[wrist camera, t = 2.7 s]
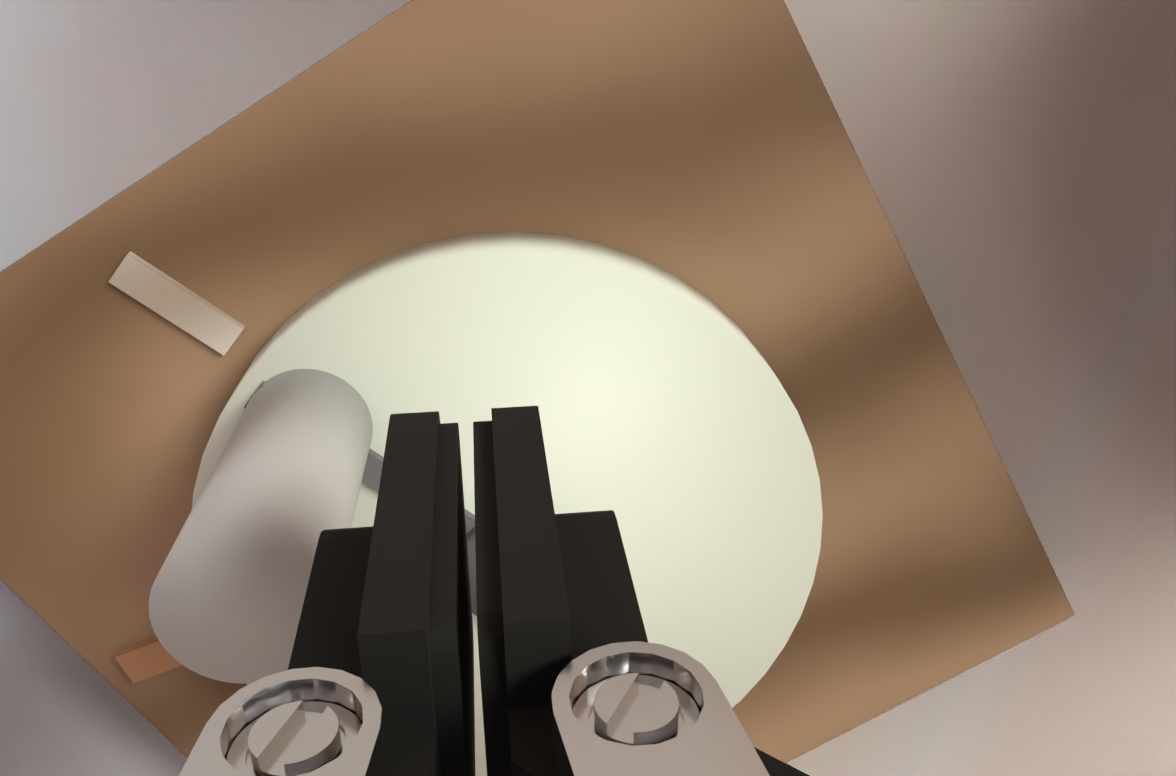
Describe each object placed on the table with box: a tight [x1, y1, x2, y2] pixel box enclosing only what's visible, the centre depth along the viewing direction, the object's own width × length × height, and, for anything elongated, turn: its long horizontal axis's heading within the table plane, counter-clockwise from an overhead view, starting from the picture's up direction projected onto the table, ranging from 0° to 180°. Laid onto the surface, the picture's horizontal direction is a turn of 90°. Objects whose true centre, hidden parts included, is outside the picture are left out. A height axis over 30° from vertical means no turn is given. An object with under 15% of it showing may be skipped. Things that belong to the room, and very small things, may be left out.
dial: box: [149, 232, 823, 776], centre depth 19 cm, size 13×13×8 cm
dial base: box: [0, 0, 1075, 763], centre depth 23 cm, size 20×20×2 cm
